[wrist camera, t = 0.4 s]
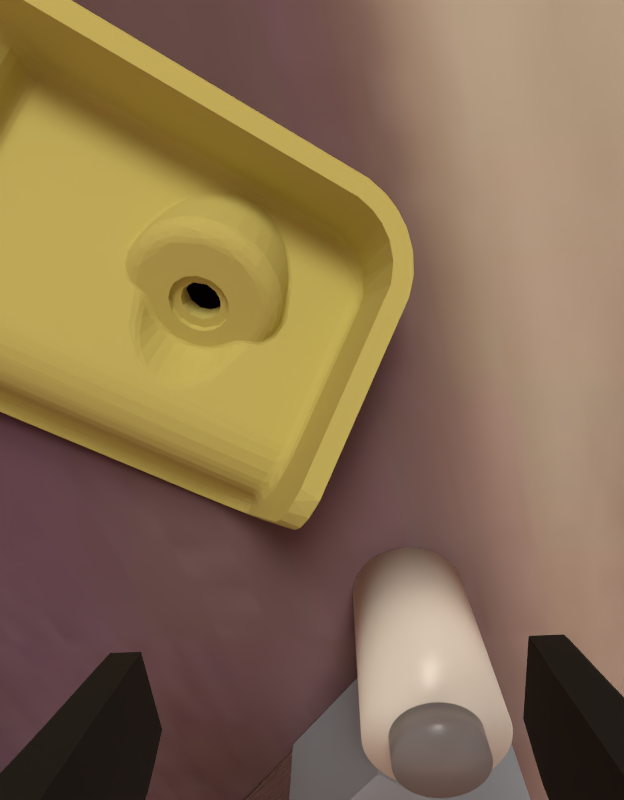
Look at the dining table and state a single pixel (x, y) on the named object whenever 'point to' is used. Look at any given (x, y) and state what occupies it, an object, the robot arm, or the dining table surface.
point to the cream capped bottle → (425, 677)
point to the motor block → (370, 764)
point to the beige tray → (275, 783)
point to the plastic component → (182, 269)
